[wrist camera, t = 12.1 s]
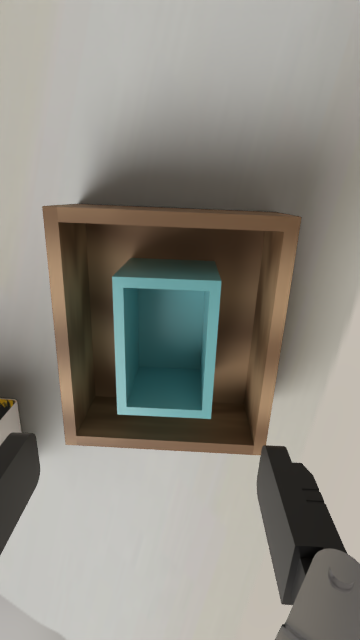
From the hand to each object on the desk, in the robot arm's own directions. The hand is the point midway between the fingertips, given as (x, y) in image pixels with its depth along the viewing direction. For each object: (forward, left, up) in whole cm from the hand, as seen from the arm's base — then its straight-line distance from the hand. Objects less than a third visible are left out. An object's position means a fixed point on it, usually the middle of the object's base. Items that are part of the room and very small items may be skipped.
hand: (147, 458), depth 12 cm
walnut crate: (0, 0, -16) cm, 16 cm away
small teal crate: (0, 0, -15) cm, 15 cm away
